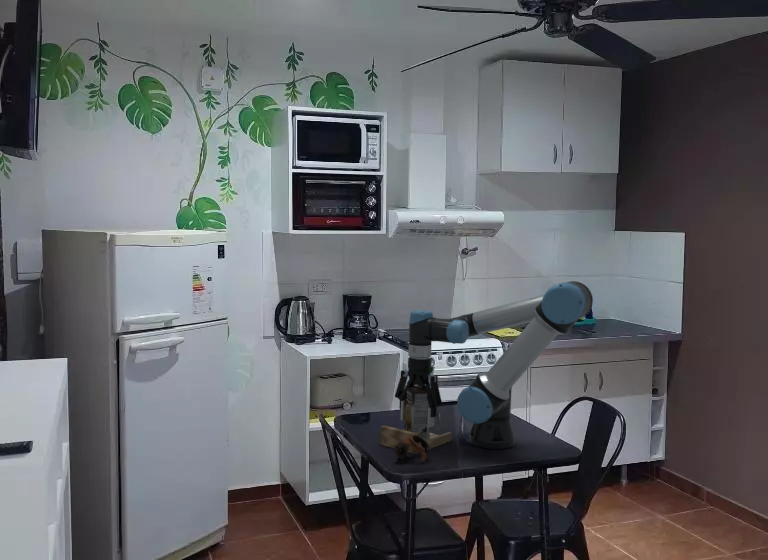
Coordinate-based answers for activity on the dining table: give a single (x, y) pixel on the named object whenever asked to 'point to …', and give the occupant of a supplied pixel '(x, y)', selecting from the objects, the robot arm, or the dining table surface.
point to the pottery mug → (404, 447)
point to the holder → (395, 436)
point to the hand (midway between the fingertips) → (417, 423)
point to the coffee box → (417, 411)
